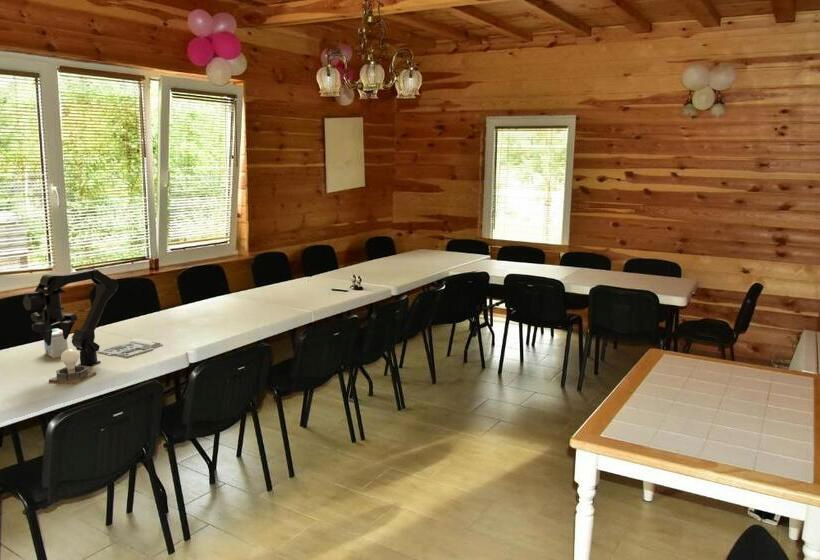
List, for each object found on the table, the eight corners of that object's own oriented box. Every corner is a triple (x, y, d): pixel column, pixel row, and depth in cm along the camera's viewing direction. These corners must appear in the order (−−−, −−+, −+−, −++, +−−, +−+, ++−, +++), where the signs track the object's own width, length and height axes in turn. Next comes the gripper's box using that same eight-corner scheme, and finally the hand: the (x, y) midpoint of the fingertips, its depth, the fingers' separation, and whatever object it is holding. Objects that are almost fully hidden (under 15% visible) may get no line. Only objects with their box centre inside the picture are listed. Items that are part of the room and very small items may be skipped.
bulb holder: (70, 372, 267) (70, 364, 266) (96, 374, 264) (95, 366, 264) (48, 382, 255) (47, 373, 255) (75, 384, 253) (74, 375, 252)
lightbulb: (78, 377, 258) (75, 350, 256) (61, 378, 256) (58, 352, 254) (82, 372, 264) (79, 346, 262) (65, 374, 262) (62, 347, 260)
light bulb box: (44, 353, 294) (42, 330, 292) (60, 350, 299) (58, 327, 297) (53, 358, 287) (50, 334, 285) (69, 354, 291) (66, 331, 289)
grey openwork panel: (139, 336, 314) (167, 341, 304) (139, 341, 315) (168, 346, 305) (96, 348, 294) (124, 354, 284) (96, 353, 295) (125, 359, 285)
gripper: (53, 299, 272) (57, 335, 275) (18, 309, 254) (22, 347, 257) (76, 300, 270) (80, 336, 273) (42, 311, 252) (46, 349, 255)
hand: (57, 342), depth 264 cm, fingers open, 9 cm apart
